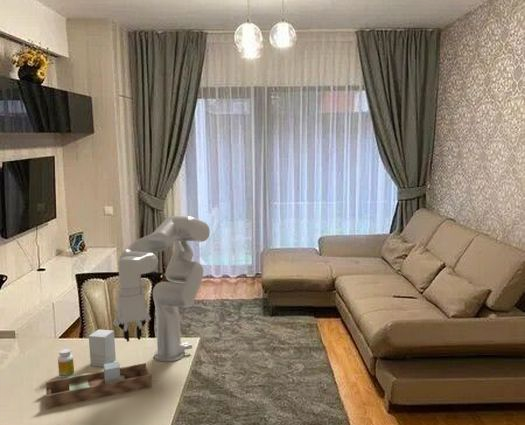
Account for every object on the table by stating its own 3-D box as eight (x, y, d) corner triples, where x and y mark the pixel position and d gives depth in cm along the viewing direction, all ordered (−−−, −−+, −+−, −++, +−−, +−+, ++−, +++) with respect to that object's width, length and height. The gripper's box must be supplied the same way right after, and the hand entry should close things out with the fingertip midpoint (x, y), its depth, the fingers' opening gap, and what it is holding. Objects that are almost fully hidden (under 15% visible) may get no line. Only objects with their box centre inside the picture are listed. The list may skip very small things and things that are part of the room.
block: (118, 376, 177) (117, 361, 176) (120, 382, 173) (119, 367, 172) (104, 379, 175) (103, 364, 174) (106, 385, 171) (105, 369, 170)
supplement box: (116, 359, 197) (114, 330, 196) (106, 367, 190) (104, 337, 188) (100, 357, 199) (98, 328, 197) (89, 365, 192) (88, 335, 190)
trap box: (146, 374, 184) (145, 362, 184) (151, 387, 175) (151, 374, 174) (46, 393, 170) (45, 381, 170) (46, 409, 161) (45, 395, 160)
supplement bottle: (68, 378, 181) (67, 354, 180) (56, 377, 183) (54, 353, 181) (77, 372, 187) (75, 348, 185) (64, 371, 188) (62, 347, 186)
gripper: (151, 285, 179) (153, 332, 182) (105, 290, 173) (108, 339, 175) (155, 290, 173) (157, 339, 175) (108, 296, 166) (110, 347, 168)
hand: (133, 338), depth 175 cm, fingers open, 3 cm apart
